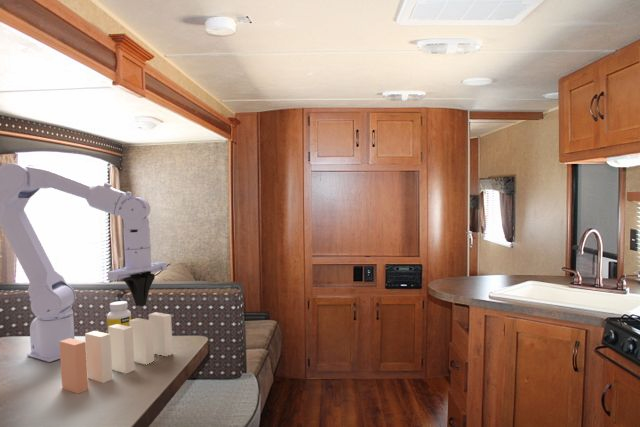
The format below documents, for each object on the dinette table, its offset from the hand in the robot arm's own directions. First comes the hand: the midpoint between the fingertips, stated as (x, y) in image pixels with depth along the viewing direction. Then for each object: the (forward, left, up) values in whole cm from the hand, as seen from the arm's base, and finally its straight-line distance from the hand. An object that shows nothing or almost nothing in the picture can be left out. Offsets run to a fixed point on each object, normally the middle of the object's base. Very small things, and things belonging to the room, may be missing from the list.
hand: (140, 305), depth 106 cm
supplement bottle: (-8, 0, -10) cm, 13 cm away
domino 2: (+8, -11, -10) cm, 17 cm away
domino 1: (+8, -16, -10) cm, 21 cm away
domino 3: (+8, -6, -10) cm, 14 cm away
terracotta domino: (+8, -21, -10) cm, 25 cm away
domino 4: (+8, -1, -10) cm, 13 cm away
